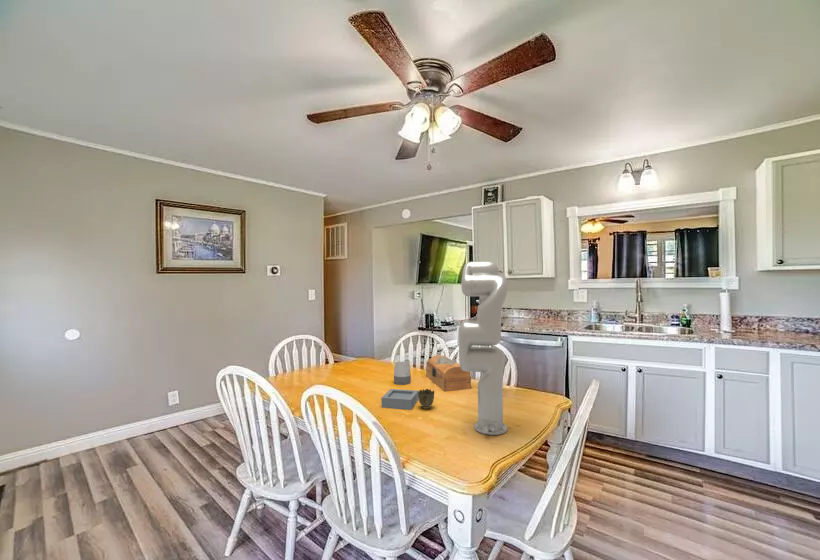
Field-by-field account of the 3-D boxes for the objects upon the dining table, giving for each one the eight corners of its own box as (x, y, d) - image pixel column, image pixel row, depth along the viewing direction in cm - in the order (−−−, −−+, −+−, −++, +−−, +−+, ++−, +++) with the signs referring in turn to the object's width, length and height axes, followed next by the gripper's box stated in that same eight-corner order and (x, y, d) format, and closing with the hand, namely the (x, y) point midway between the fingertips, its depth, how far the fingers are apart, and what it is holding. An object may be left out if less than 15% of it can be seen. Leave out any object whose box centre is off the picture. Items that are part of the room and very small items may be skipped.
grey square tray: (411, 411, 164) (411, 399, 164) (381, 409, 168) (381, 397, 168) (418, 401, 178) (418, 390, 178) (390, 399, 182) (390, 388, 182)
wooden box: (424, 379, 217) (424, 355, 217) (450, 377, 221) (450, 354, 221) (441, 394, 188) (441, 367, 188) (471, 391, 192) (471, 365, 192)
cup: (414, 408, 167) (414, 390, 167) (426, 404, 172) (426, 387, 172) (425, 412, 161) (425, 394, 161) (437, 409, 166) (437, 391, 166)
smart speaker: (404, 381, 212) (404, 357, 212) (414, 385, 204) (413, 360, 204) (390, 384, 206) (390, 359, 206) (399, 388, 199) (399, 362, 199)
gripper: (469, 302, 183) (470, 337, 183) (505, 302, 181) (506, 337, 181) (469, 302, 190) (469, 335, 190) (503, 301, 188) (504, 335, 188)
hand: (487, 336), depth 185 cm, fingers open, 9 cm apart
